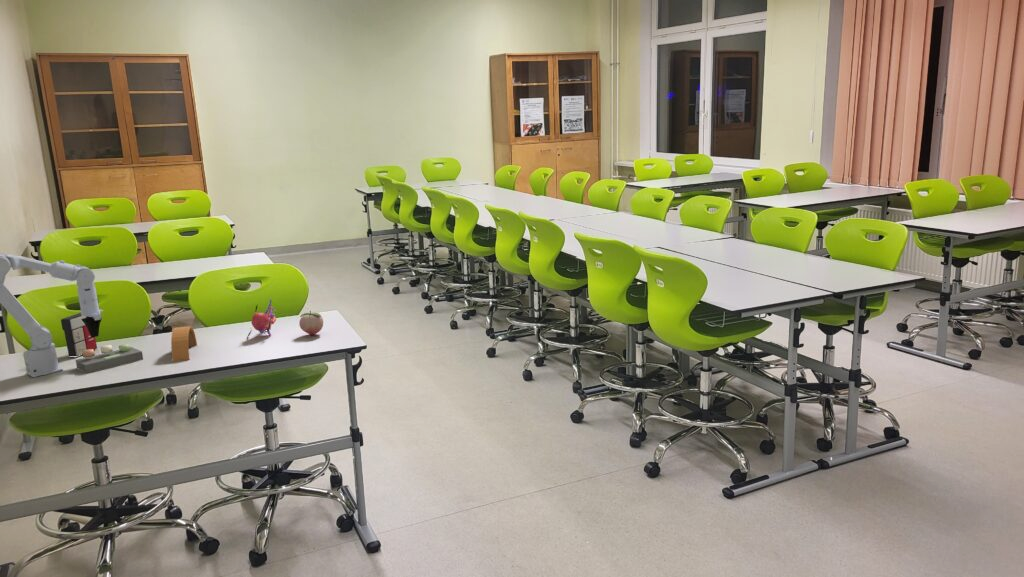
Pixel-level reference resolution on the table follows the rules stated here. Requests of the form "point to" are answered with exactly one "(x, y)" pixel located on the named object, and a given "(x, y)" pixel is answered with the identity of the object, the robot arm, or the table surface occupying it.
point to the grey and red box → (77, 335)
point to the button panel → (108, 360)
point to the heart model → (263, 320)
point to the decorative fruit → (311, 323)
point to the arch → (182, 343)
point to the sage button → (124, 347)
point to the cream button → (106, 349)
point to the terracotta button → (88, 353)
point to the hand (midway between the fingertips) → (94, 336)
